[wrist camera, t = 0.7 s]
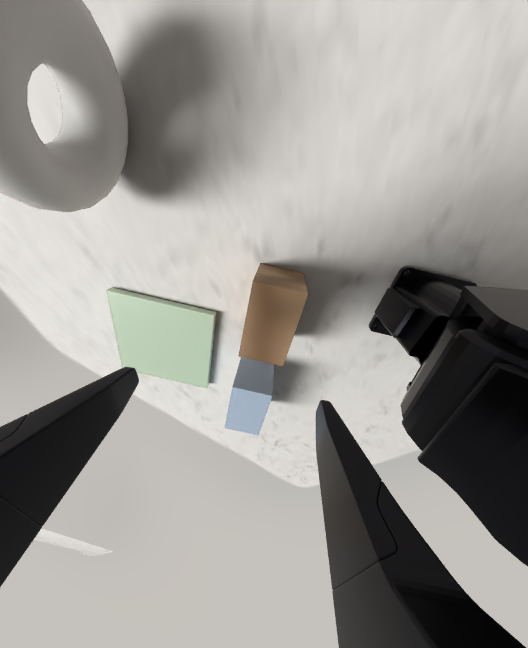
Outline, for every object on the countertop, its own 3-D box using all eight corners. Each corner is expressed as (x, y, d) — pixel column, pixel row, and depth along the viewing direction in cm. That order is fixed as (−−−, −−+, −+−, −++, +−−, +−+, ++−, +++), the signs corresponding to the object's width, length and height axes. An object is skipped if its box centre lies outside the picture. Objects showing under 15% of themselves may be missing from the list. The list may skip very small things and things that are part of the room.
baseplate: (216, 311, 21) (214, 315, 21) (209, 383, 27) (207, 388, 26) (111, 287, 21) (106, 290, 20) (126, 365, 27) (122, 369, 26)
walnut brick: (303, 273, 19) (308, 294, 14) (283, 334, 22) (282, 366, 18) (260, 262, 19) (252, 281, 14) (247, 326, 22) (238, 356, 18)
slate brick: (274, 362, 24) (272, 396, 20) (262, 399, 28) (258, 435, 24) (242, 354, 24) (232, 387, 20) (234, 393, 28) (224, 427, 24)
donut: (133, 217, 18) (-14, 231, 9) (92, 197, 17) (-105, 192, 8) (150, 51, 13) (-143, -273, 4) (92, 17, 12) (-380, -436, 4)
